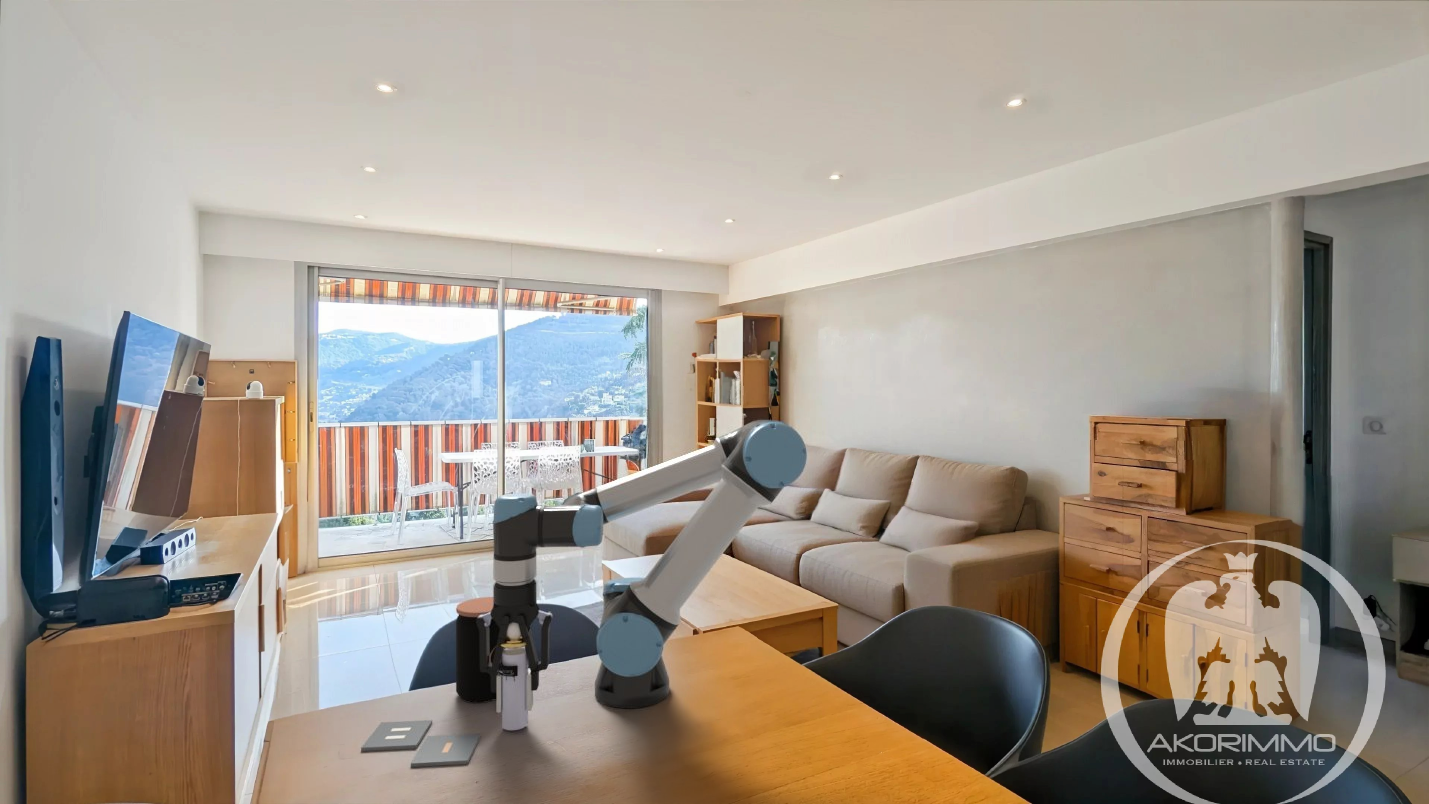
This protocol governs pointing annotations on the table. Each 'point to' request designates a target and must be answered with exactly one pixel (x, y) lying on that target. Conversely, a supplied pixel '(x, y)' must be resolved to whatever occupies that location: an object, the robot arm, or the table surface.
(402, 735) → the slate code tile
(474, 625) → the coffee jar
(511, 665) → the perfume bottle
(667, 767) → the table surface
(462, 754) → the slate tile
